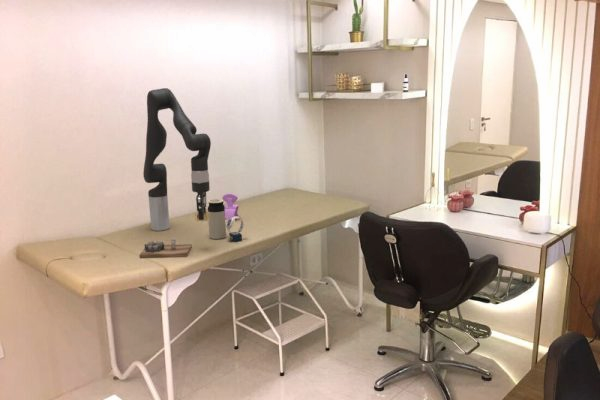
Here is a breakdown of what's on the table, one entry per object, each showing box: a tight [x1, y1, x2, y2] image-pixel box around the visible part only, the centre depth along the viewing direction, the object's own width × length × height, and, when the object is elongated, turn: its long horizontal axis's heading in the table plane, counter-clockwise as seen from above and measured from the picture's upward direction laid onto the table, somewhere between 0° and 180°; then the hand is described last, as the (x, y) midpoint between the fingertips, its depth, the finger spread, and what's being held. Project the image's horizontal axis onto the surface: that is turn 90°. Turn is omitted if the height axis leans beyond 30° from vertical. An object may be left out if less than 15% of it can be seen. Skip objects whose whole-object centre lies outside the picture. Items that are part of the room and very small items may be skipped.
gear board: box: [139, 237, 193, 259], centre depth 233 cm, size 13×20×6 cm, turn 93°
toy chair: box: [221, 192, 239, 220], centre depth 286 cm, size 8×9×15 cm
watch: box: [226, 217, 245, 243], centre depth 249 cm, size 6×8×11 cm
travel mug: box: [207, 198, 227, 240], centre depth 254 cm, size 8×8×18 cm
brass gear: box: [194, 211, 210, 222], centre depth 234 cm, size 6×6×3 cm
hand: (202, 217), depth 234 cm, fingers closed on brass gear, 6 cm apart
